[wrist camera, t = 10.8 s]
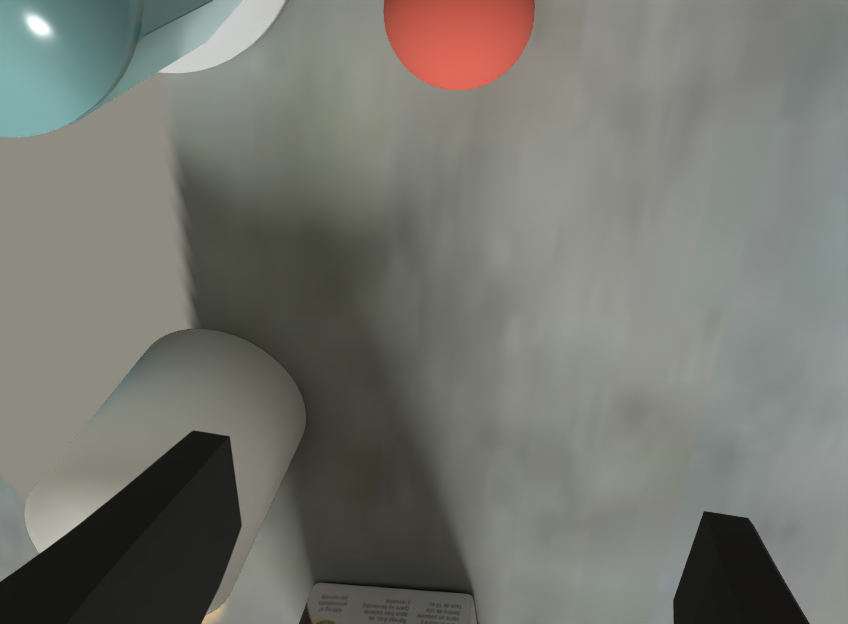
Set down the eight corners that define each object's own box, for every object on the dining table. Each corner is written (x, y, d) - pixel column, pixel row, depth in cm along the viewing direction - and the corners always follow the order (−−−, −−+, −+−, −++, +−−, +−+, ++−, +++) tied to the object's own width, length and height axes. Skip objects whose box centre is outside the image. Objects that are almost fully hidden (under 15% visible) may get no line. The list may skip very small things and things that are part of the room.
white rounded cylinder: (206, 296, 22) (98, 435, 18) (342, 419, 24) (277, 577, 19) (106, 384, 25) (-13, 525, 20) (234, 489, 27) (153, 643, 22)
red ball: (476, -116, 16) (453, -101, 13) (567, 5, 16) (563, 39, 14) (372, -11, 17) (335, 20, 14) (462, 94, 18) (441, 140, 15)
